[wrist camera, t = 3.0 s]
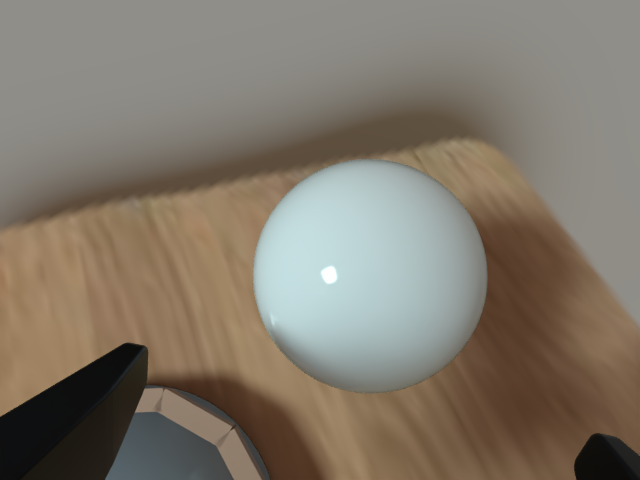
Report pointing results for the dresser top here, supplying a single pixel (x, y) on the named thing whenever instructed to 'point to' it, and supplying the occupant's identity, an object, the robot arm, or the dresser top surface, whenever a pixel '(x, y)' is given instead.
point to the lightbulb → (370, 276)
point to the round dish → (184, 442)
